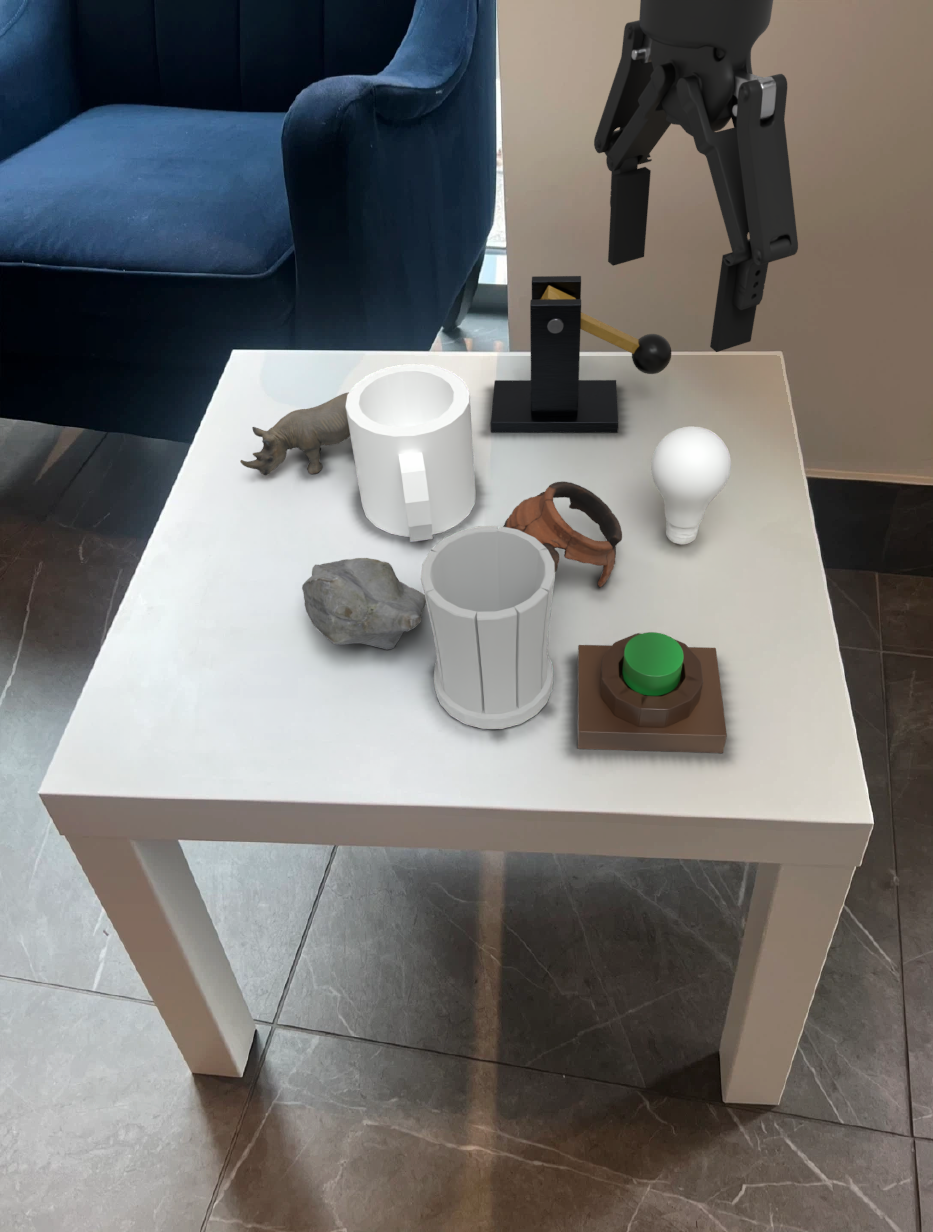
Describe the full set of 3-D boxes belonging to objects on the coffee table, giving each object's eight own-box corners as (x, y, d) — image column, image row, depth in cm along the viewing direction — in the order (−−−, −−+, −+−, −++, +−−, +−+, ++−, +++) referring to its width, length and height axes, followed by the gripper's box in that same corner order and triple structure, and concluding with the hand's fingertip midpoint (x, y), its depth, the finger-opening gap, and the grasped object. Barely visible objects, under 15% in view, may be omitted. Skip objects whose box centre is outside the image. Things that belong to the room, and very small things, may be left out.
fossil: (462, 621, 79) (456, 548, 73) (401, 702, 74) (389, 629, 68) (347, 576, 83) (332, 503, 78) (281, 649, 78) (260, 577, 72)
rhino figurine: (239, 474, 94) (224, 421, 89) (373, 427, 97) (365, 373, 93) (254, 498, 91) (239, 445, 87) (391, 449, 95) (383, 395, 90)
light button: (678, 652, 71) (681, 632, 70) (682, 697, 68) (685, 677, 67) (621, 651, 72) (623, 631, 70) (623, 695, 69) (625, 675, 67)
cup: (393, 698, 74) (373, 583, 66) (453, 617, 80) (442, 501, 71) (519, 750, 70) (517, 636, 62) (574, 662, 76) (578, 545, 67)
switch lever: (656, 365, 95) (677, 336, 93) (658, 387, 93) (680, 357, 90) (533, 307, 92) (552, 275, 89) (531, 328, 89) (551, 295, 87)
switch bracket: (615, 390, 100) (623, 269, 90) (617, 432, 95) (626, 310, 85) (495, 390, 101) (490, 271, 91) (490, 432, 96) (485, 311, 87)
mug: (490, 554, 84) (485, 453, 77) (369, 571, 84) (351, 470, 76) (467, 456, 94) (461, 356, 86) (358, 470, 93) (342, 371, 85)
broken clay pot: (505, 525, 87) (554, 456, 82) (592, 590, 87) (647, 525, 82) (451, 590, 78) (502, 516, 73) (548, 663, 78) (607, 594, 73)
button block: (712, 665, 75) (719, 628, 72) (723, 753, 69) (731, 718, 66) (577, 662, 76) (579, 626, 73) (577, 748, 70) (579, 714, 67)
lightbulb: (665, 507, 87) (677, 401, 79) (730, 533, 85) (750, 426, 76) (630, 548, 84) (639, 442, 76) (696, 576, 81) (713, 469, 73)
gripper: (548, -82, 63) (547, 240, 79) (793, 25, 47) (732, 403, 63) (650, -101, 65) (630, 217, 81) (920, -5, 49) (830, 370, 65)
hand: (674, 299), depth 72 cm, fingers open, 13 cm apart
